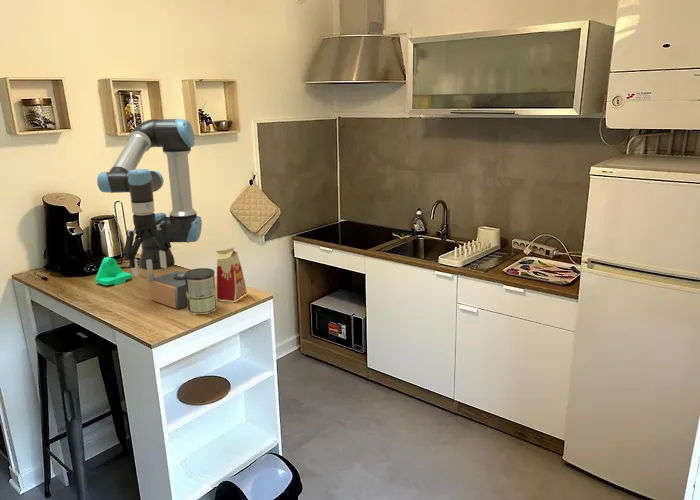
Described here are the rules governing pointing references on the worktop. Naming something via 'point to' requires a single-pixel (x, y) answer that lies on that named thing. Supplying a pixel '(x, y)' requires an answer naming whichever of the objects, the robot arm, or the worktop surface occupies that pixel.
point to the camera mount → (111, 273)
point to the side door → (161, 289)
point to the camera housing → (175, 285)
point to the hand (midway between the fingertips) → (150, 271)
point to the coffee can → (200, 290)
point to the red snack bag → (229, 276)
